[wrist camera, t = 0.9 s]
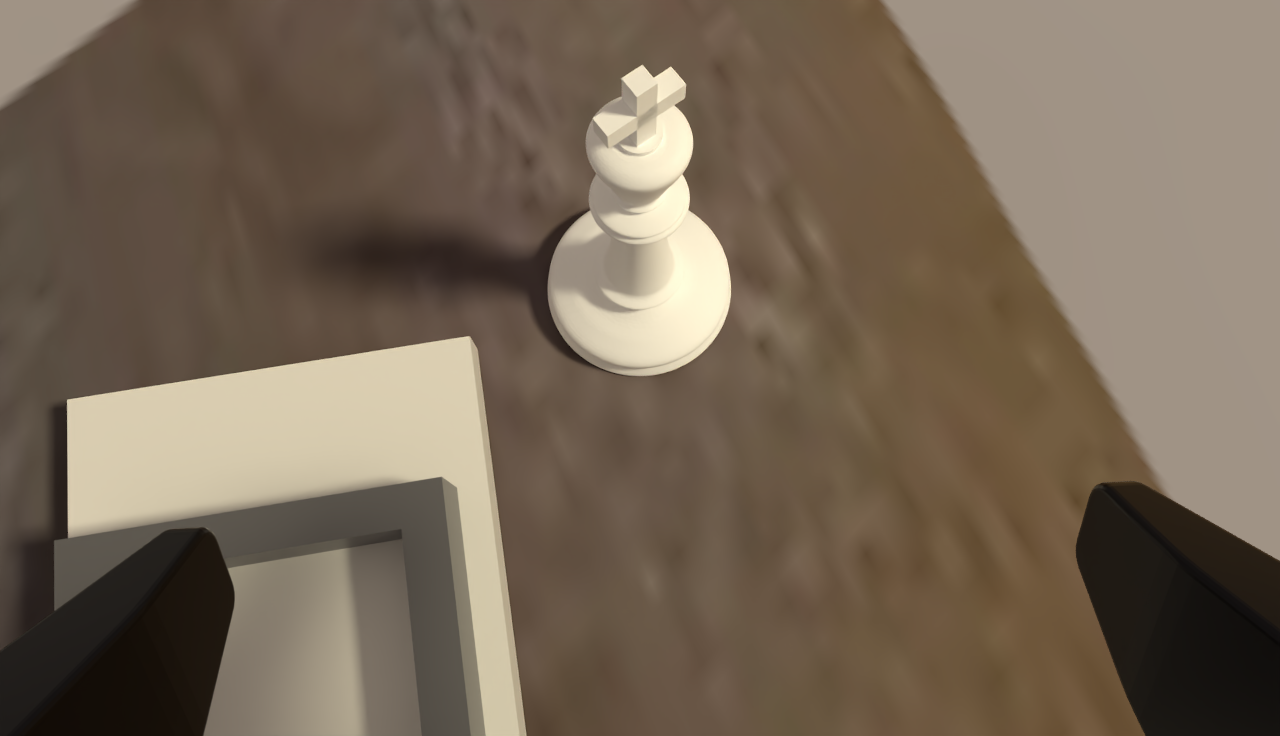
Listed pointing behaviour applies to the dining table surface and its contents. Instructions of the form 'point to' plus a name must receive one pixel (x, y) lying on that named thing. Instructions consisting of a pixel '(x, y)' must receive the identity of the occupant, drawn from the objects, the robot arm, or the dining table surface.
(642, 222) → the chess piece
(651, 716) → the dining table surface
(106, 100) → the dining table surface
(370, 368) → the board
